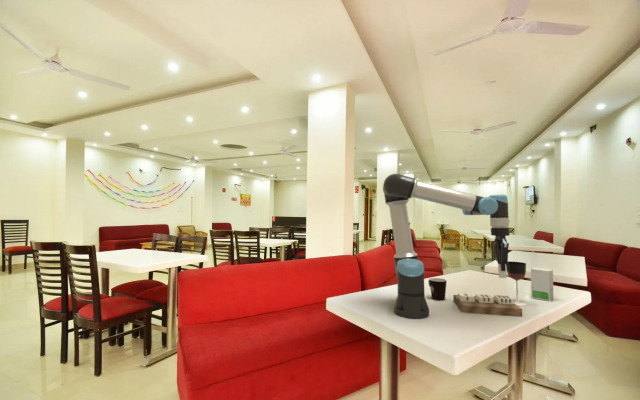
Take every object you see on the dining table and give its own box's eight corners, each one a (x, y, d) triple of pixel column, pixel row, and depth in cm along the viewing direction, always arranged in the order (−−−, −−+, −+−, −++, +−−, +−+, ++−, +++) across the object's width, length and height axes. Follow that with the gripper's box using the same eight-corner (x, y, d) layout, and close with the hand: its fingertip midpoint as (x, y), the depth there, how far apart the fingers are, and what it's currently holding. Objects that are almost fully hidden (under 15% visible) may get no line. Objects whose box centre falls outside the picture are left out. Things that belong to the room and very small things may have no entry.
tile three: (498, 303, 130) (498, 297, 131) (494, 300, 136) (494, 294, 136) (513, 304, 129) (513, 298, 129) (508, 300, 135) (508, 295, 135)
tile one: (460, 301, 134) (460, 295, 135) (457, 297, 140) (457, 292, 140) (474, 302, 133) (474, 296, 133) (471, 298, 139) (471, 293, 139)
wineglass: (515, 300, 147) (513, 261, 148) (532, 305, 139) (530, 263, 140) (503, 301, 144) (501, 261, 146) (520, 306, 136) (518, 264, 137)
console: (461, 312, 129) (461, 305, 129) (453, 301, 146) (453, 294, 146) (522, 316, 123) (521, 309, 123) (506, 304, 140) (506, 297, 140)
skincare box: (531, 298, 150) (529, 268, 151) (535, 296, 154) (533, 267, 155) (550, 301, 144) (549, 270, 145) (554, 299, 148) (553, 269, 149)
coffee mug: (449, 301, 145) (448, 281, 146) (431, 300, 147) (430, 281, 148) (443, 295, 157) (443, 277, 157) (427, 294, 158) (426, 276, 159)
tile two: (479, 302, 132) (479, 296, 133) (475, 298, 138) (475, 293, 138) (493, 303, 131) (493, 297, 131) (489, 299, 137) (489, 294, 137)
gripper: (514, 227, 128) (517, 281, 126) (503, 226, 140) (506, 275, 139) (495, 227, 130) (498, 280, 128) (486, 226, 142) (489, 274, 141)
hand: (502, 277), depth 133 cm, fingers closed
